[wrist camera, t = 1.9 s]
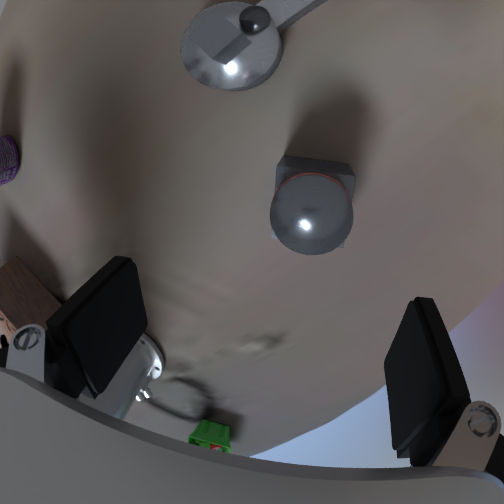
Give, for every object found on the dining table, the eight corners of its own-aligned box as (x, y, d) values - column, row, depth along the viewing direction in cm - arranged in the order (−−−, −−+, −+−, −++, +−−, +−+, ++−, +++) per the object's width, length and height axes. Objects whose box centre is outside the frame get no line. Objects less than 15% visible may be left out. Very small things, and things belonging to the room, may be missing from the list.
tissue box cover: (18, 255, 40) (-21, 283, 31) (70, 311, 43) (35, 349, 34) (10, 319, 52) (-15, 343, 43) (50, 360, 55) (28, 388, 46)
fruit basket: (230, 447, 53) (217, 491, 43) (190, 435, 53) (173, 478, 44) (237, 425, 47) (222, 477, 37) (190, 411, 48) (169, 461, 38)
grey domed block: (348, 163, 25) (360, 182, 18) (339, 225, 27) (345, 260, 21) (282, 155, 25) (272, 170, 19) (277, 216, 28) (266, 249, 22)
